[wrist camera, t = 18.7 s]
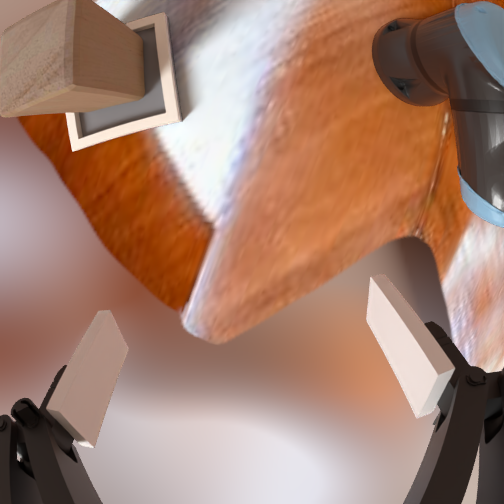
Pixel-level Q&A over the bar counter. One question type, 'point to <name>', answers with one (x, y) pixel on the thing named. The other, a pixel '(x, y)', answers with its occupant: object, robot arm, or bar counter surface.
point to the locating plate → (146, 109)
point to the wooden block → (69, 61)
